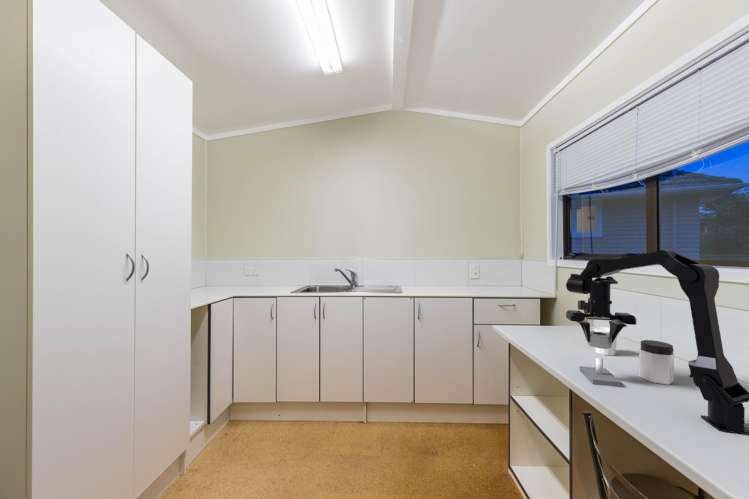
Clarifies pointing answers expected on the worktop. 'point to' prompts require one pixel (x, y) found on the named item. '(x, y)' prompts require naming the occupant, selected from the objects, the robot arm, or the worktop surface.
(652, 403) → the worktop surface
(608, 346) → the hub ring
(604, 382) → the block
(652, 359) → the jar
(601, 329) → the white cup
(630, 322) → the robot arm
